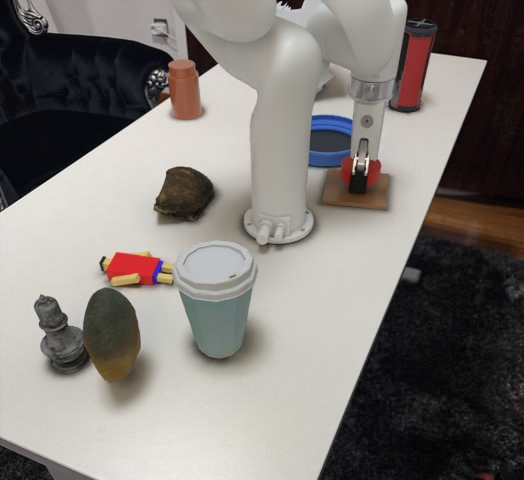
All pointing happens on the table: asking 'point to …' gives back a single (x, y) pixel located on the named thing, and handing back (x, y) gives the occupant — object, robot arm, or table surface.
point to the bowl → (329, 139)
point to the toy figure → (136, 269)
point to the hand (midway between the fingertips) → (358, 181)
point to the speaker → (413, 64)
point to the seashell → (184, 193)
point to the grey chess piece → (60, 337)
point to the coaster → (340, 195)
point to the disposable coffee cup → (216, 293)
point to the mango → (111, 334)
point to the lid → (373, 165)
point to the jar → (184, 89)
